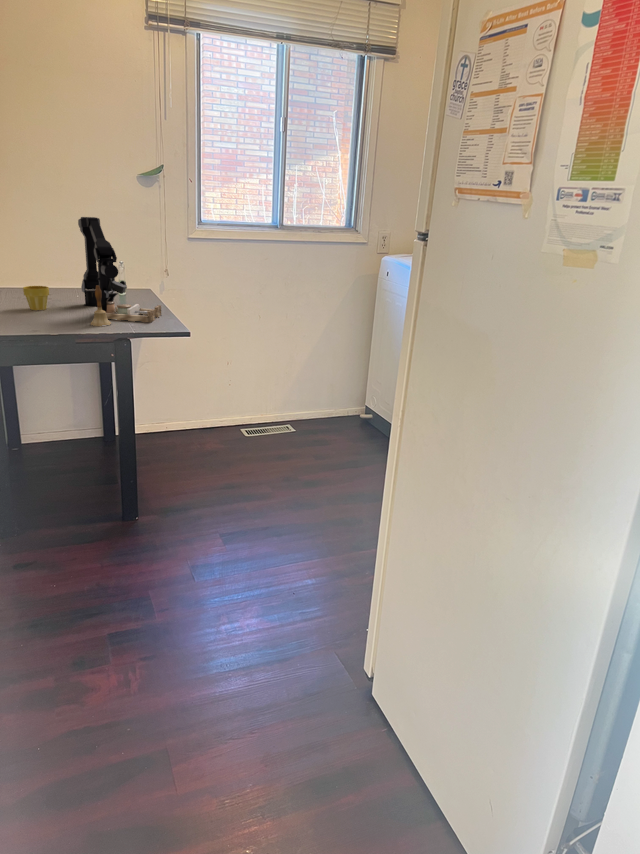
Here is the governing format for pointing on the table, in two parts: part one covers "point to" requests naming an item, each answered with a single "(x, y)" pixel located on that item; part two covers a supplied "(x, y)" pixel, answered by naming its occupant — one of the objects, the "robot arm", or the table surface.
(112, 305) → the jar
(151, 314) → the lane
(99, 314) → the hand bell
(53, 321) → the table surface
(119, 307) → the stock jar
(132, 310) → the peg stand
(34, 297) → the plant pot
